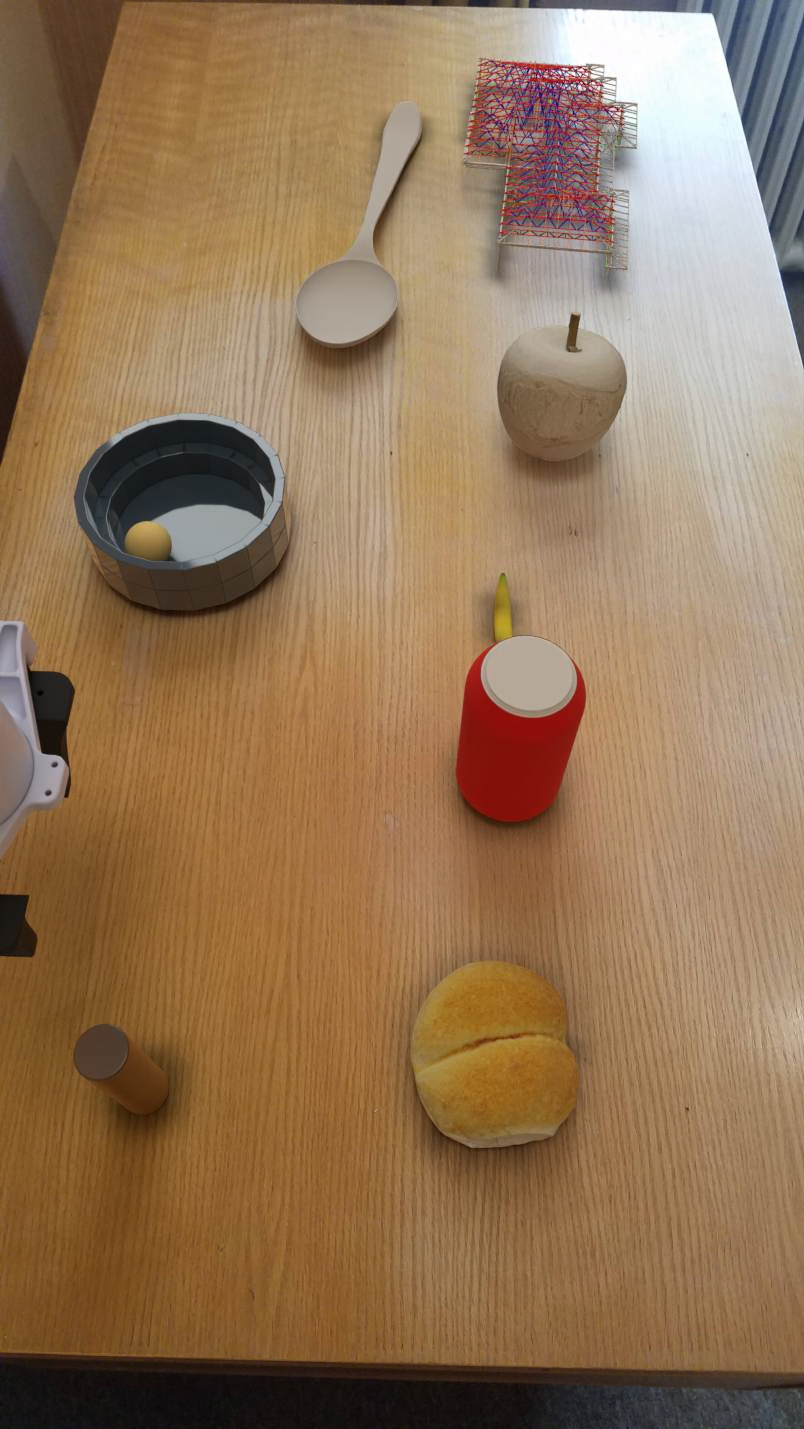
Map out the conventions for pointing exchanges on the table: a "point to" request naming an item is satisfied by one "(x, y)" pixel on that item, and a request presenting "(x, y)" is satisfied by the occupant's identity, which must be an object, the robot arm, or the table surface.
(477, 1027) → the bread roll
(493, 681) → the beverage can
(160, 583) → the bowl
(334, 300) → the spoon
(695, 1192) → the table surface
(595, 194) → the roof frame
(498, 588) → the fruit
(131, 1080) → the brown wooden dowel
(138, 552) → the ball
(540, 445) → the decorative object
